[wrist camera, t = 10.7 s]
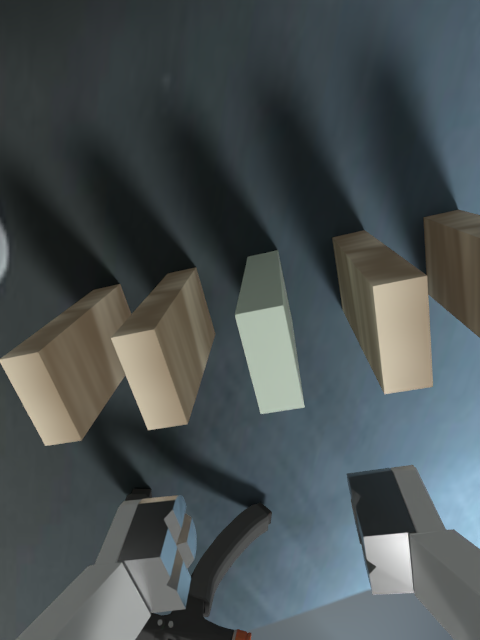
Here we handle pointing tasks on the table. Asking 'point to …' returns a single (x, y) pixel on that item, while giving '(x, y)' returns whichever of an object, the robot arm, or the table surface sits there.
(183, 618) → the hand grip strengthener
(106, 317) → the domino
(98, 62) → the table surface
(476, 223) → the domino
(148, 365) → the domino
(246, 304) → the domino
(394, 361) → the domino
